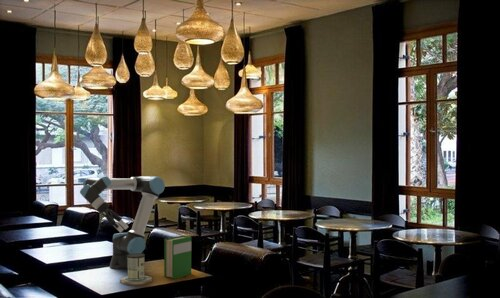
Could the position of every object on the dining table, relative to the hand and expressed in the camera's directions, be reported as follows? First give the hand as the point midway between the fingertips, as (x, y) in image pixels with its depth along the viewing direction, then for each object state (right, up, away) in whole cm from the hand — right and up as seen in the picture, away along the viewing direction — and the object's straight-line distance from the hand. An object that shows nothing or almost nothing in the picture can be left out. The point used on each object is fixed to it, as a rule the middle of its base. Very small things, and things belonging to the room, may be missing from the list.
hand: (124, 229), depth 347 cm
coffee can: (+9, -28, -10) cm, 31 cm away
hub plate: (+9, -30, -10) cm, 33 cm away
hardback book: (+32, -30, +5) cm, 45 cm away
